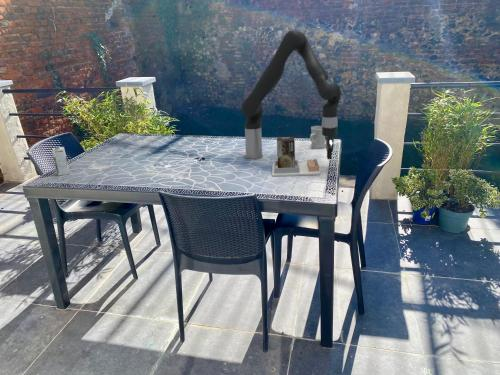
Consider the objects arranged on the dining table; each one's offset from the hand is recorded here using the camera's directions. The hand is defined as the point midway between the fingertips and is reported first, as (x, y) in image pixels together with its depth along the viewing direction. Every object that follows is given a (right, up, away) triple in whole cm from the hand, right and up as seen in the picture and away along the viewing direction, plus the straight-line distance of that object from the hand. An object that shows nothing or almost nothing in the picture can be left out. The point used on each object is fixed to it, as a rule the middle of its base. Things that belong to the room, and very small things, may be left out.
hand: (329, 158), depth 203 cm
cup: (+1, +9, +38) cm, 39 cm away
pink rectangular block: (-8, -5, +2) cm, 9 cm away
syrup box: (-143, -7, +18) cm, 145 cm away
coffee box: (-21, -5, +3) cm, 22 cm away
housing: (-17, -6, +3) cm, 18 cm away
